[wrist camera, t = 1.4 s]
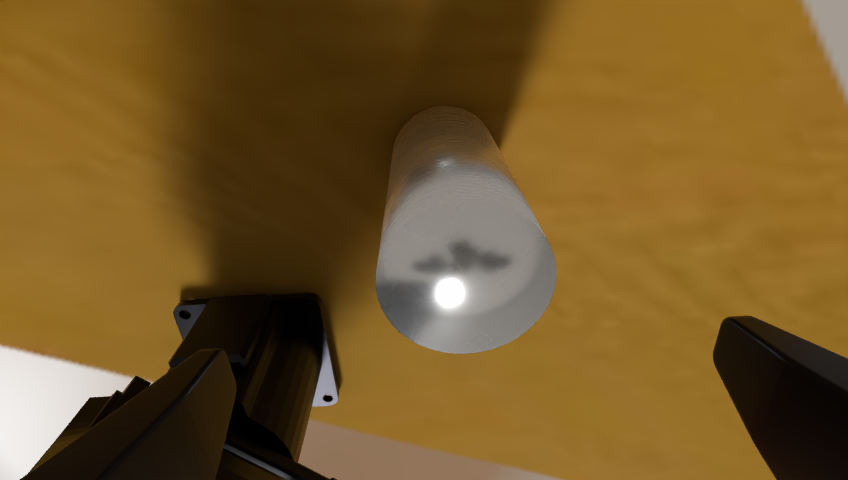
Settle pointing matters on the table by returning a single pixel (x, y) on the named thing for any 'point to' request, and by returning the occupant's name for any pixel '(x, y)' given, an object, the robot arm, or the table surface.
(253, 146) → the table surface
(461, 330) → the silver upright cylinder
